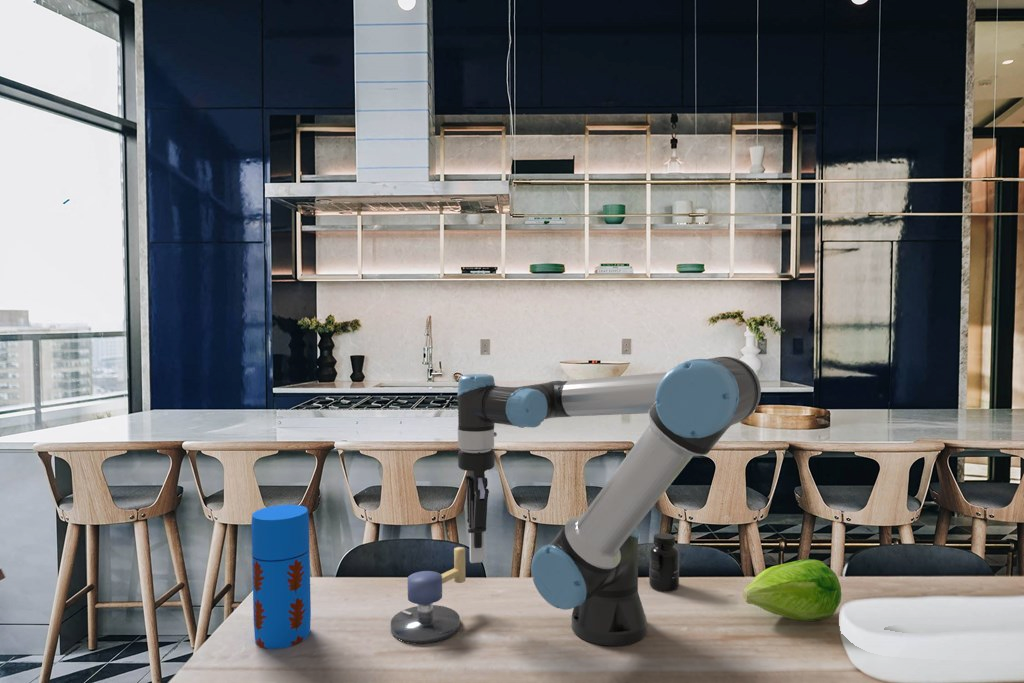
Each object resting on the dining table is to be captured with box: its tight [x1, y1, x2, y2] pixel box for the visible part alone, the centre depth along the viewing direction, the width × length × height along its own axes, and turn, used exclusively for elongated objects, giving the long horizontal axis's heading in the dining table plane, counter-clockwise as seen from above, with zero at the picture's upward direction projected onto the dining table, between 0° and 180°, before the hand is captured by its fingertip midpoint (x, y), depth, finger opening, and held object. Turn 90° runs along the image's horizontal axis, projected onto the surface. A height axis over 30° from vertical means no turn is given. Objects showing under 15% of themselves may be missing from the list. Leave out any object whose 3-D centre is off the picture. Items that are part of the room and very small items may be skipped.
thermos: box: [251, 504, 312, 650], centre depth 131 cm, size 11×11×25 cm
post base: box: [390, 603, 461, 645], centre depth 135 cm, size 14×14×6 cm
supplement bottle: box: [648, 532, 680, 593], centre depth 154 cm, size 7×7×12 cm
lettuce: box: [742, 558, 842, 622], centre depth 137 cm, size 14×20×12 cm
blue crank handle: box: [407, 546, 466, 605], centre depth 138 cm, size 16×7×7 cm, turn 144°
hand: (476, 561), depth 137 cm, fingers closed
